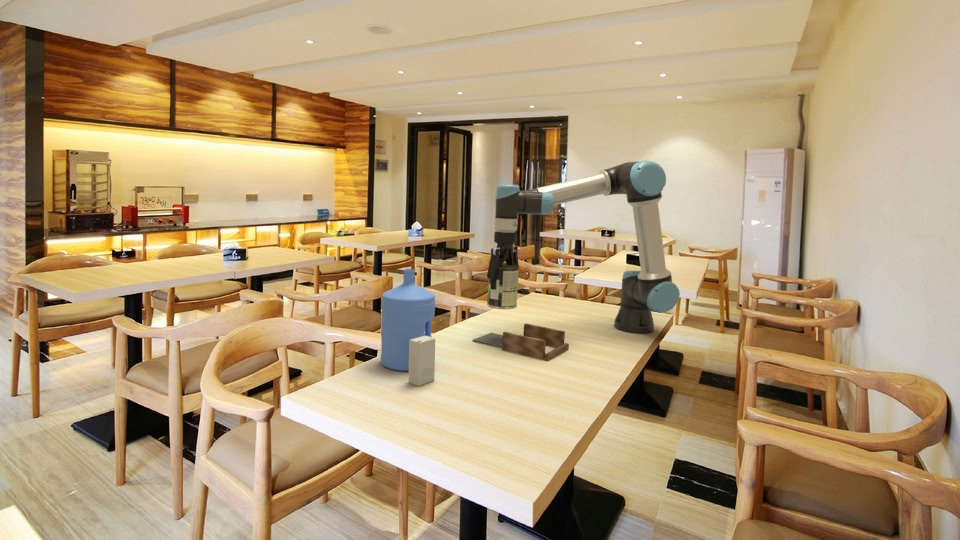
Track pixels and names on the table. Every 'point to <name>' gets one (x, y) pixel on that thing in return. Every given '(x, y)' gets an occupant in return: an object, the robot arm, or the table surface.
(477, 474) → the table surface
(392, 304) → the water jug
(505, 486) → the table surface
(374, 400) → the table surface
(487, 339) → the mat
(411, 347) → the skincare box
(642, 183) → the robot arm
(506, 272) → the coffee can
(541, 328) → the holder
